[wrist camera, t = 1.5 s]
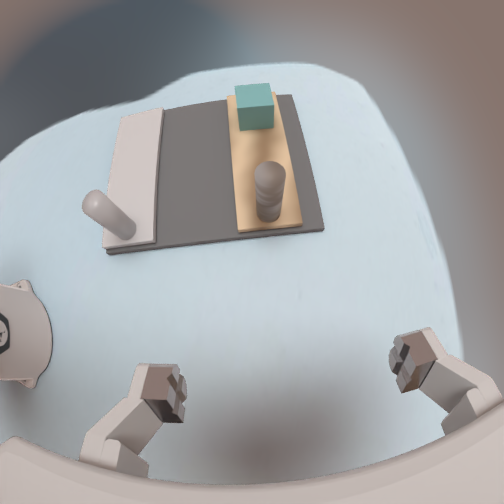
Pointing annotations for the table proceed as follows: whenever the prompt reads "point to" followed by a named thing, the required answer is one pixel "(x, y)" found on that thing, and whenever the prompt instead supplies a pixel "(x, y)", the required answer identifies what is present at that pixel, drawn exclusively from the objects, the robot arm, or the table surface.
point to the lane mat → (216, 179)
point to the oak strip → (250, 160)
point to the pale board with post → (130, 183)
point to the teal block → (255, 106)
